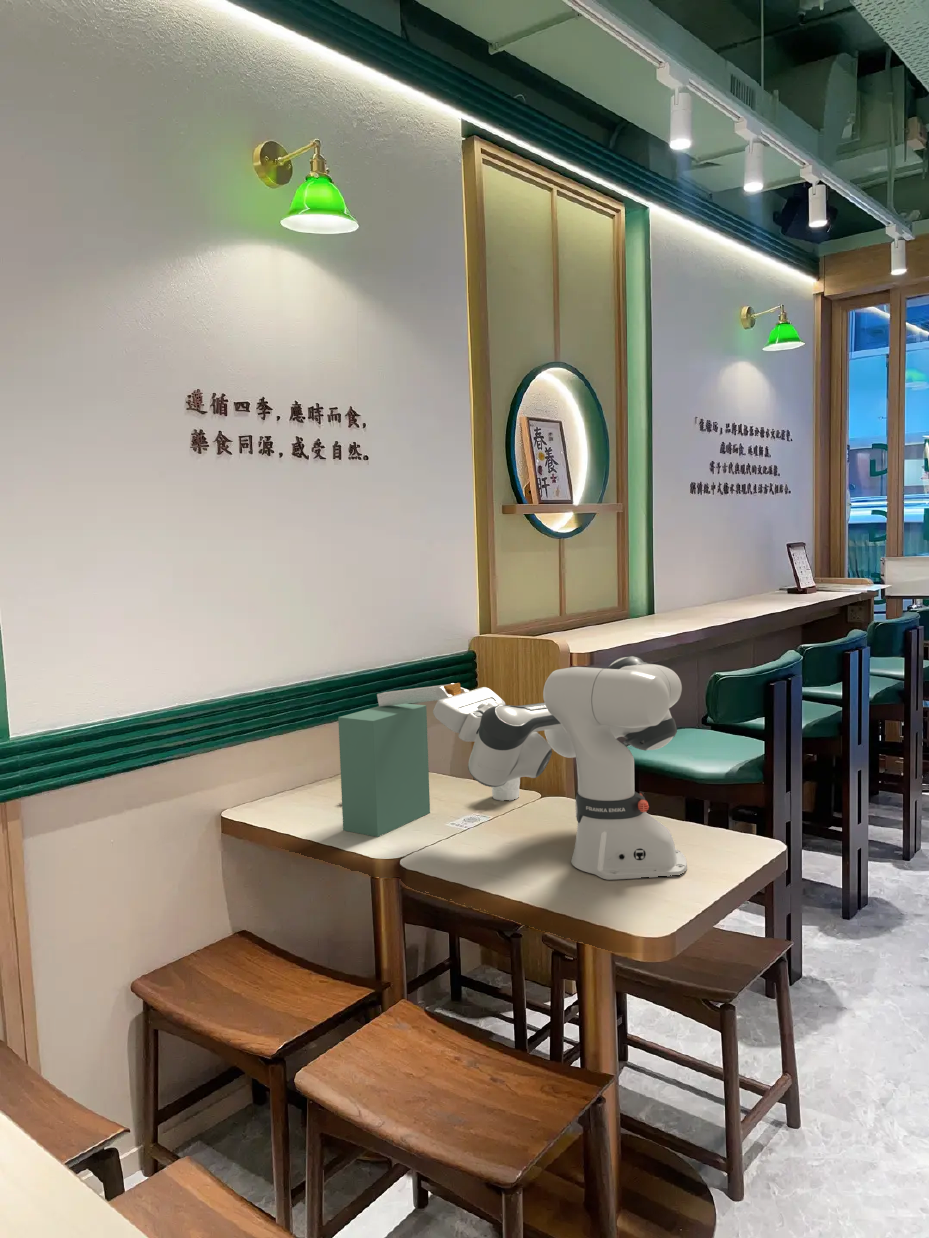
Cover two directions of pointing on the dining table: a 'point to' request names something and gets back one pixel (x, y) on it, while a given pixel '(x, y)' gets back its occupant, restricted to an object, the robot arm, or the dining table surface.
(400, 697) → the lever bar
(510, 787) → the white cup
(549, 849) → the dining table surface
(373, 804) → the green box
